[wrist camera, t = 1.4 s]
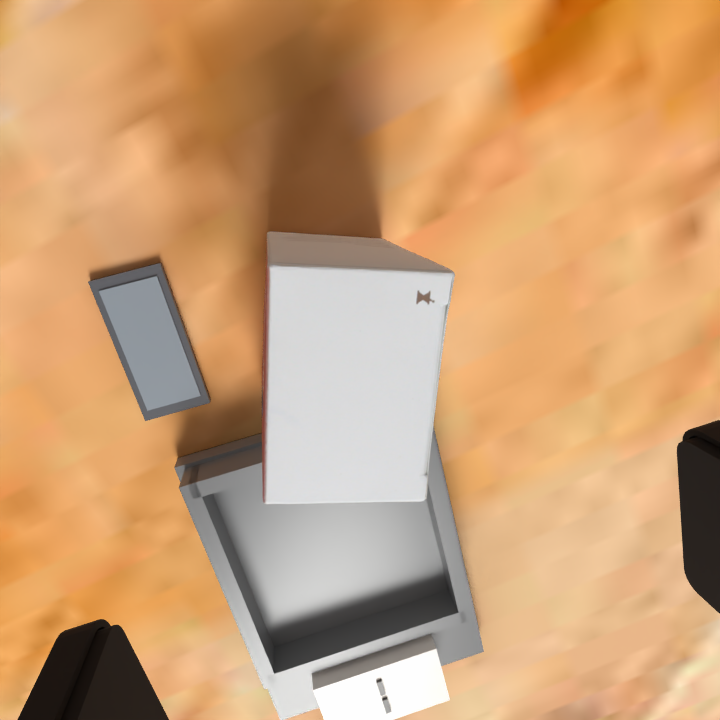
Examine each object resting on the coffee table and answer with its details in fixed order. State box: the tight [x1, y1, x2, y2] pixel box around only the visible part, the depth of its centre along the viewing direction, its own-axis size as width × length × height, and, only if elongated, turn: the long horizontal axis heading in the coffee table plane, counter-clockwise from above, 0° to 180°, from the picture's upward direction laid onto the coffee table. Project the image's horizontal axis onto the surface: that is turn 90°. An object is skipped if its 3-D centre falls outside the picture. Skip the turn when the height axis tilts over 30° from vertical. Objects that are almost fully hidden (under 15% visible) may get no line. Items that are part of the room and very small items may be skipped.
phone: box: [88, 263, 211, 421], centre depth 25 cm, size 7×3×1 cm, turn 13°
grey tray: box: [175, 427, 484, 720], centre depth 29 cm, size 18×13×4 cm
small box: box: [262, 232, 455, 504], centre depth 21 cm, size 8×6×10 cm
